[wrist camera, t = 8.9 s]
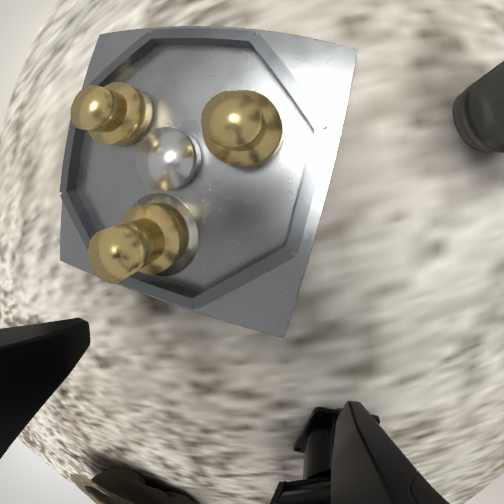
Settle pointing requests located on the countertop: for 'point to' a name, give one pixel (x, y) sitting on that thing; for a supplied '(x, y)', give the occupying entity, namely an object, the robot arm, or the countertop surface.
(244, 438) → the countertop surface
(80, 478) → the stone bowl
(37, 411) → the robot arm
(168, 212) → the brass cabinet knob
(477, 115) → the beverage cup
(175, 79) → the tray
